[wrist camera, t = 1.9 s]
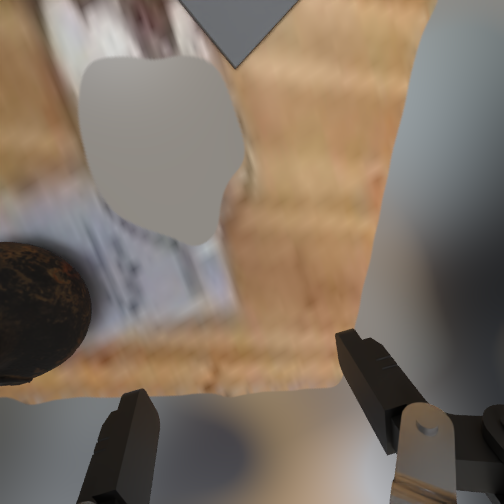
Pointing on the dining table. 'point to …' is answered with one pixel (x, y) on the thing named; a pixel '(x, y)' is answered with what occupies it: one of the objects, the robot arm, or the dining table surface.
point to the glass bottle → (38, 312)
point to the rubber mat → (237, 23)
